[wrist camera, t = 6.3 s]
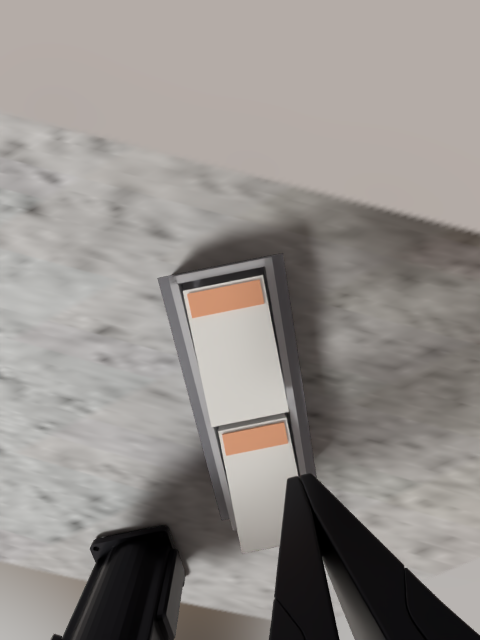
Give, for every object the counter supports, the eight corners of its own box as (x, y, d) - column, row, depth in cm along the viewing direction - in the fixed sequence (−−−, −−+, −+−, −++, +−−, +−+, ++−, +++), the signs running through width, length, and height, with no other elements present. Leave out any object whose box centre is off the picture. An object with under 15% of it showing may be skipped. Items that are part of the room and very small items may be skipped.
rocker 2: (241, 538, 15) (241, 555, 14) (219, 424, 15) (217, 432, 14) (306, 525, 15) (311, 541, 14) (283, 411, 15) (286, 418, 14)
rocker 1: (213, 418, 13) (211, 428, 12) (186, 292, 13) (182, 290, 12) (284, 403, 13) (289, 412, 12) (260, 277, 13) (263, 274, 12)
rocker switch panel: (222, 483, 20) (221, 534, 16) (170, 275, 16) (152, 278, 12) (306, 466, 20) (325, 513, 16) (273, 255, 16) (286, 252, 12)
